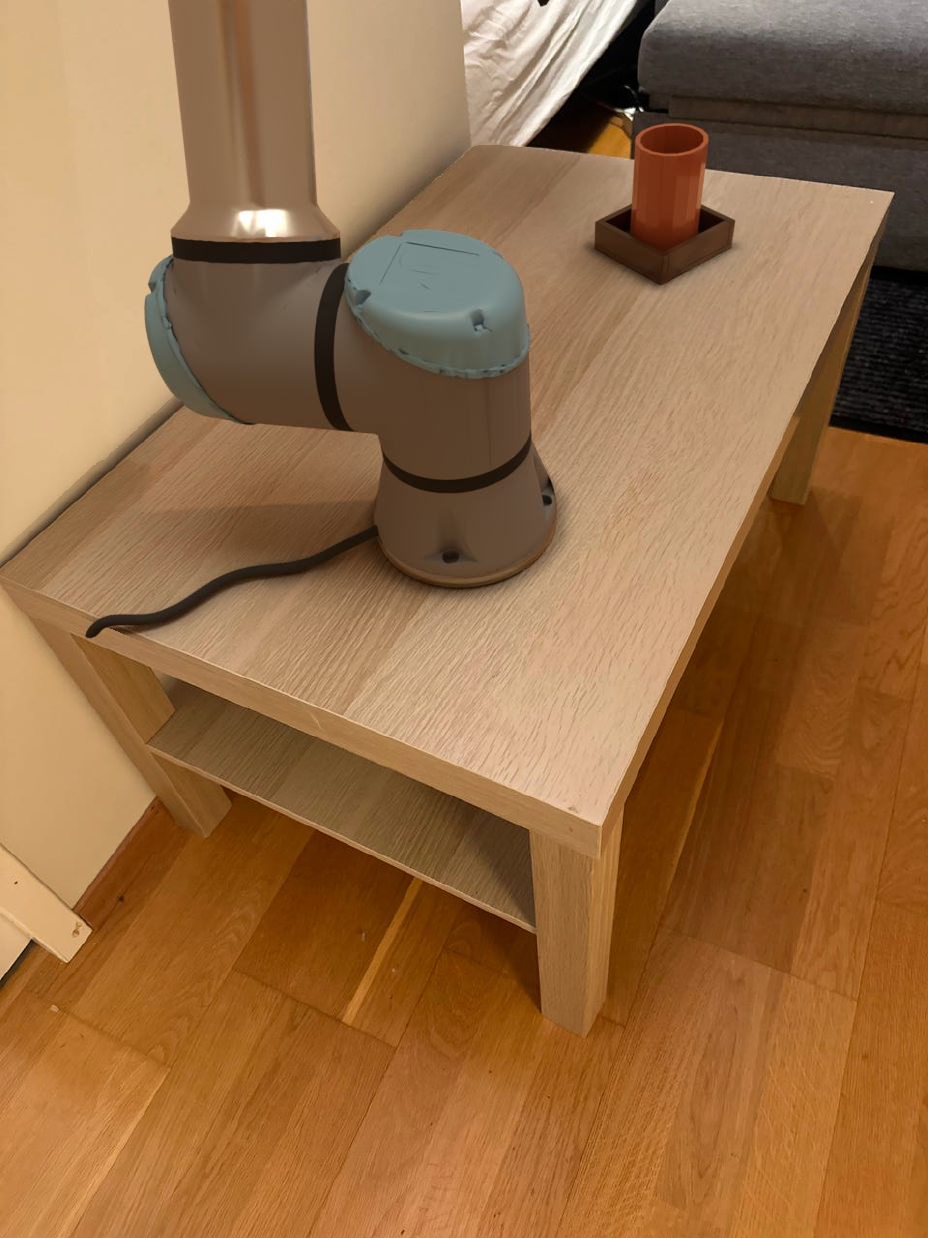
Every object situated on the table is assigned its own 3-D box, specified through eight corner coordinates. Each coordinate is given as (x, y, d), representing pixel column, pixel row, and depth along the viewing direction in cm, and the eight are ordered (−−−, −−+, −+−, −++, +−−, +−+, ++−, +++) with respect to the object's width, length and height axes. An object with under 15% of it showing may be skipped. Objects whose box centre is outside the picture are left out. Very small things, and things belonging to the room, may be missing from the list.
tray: (661, 284, 95) (663, 257, 92) (594, 247, 101) (594, 221, 98) (731, 247, 98) (735, 219, 96) (663, 213, 104) (665, 186, 101)
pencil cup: (661, 267, 96) (671, 162, 87) (616, 242, 100) (620, 140, 91) (709, 241, 98) (723, 137, 90) (663, 218, 102) (672, 116, 93)
